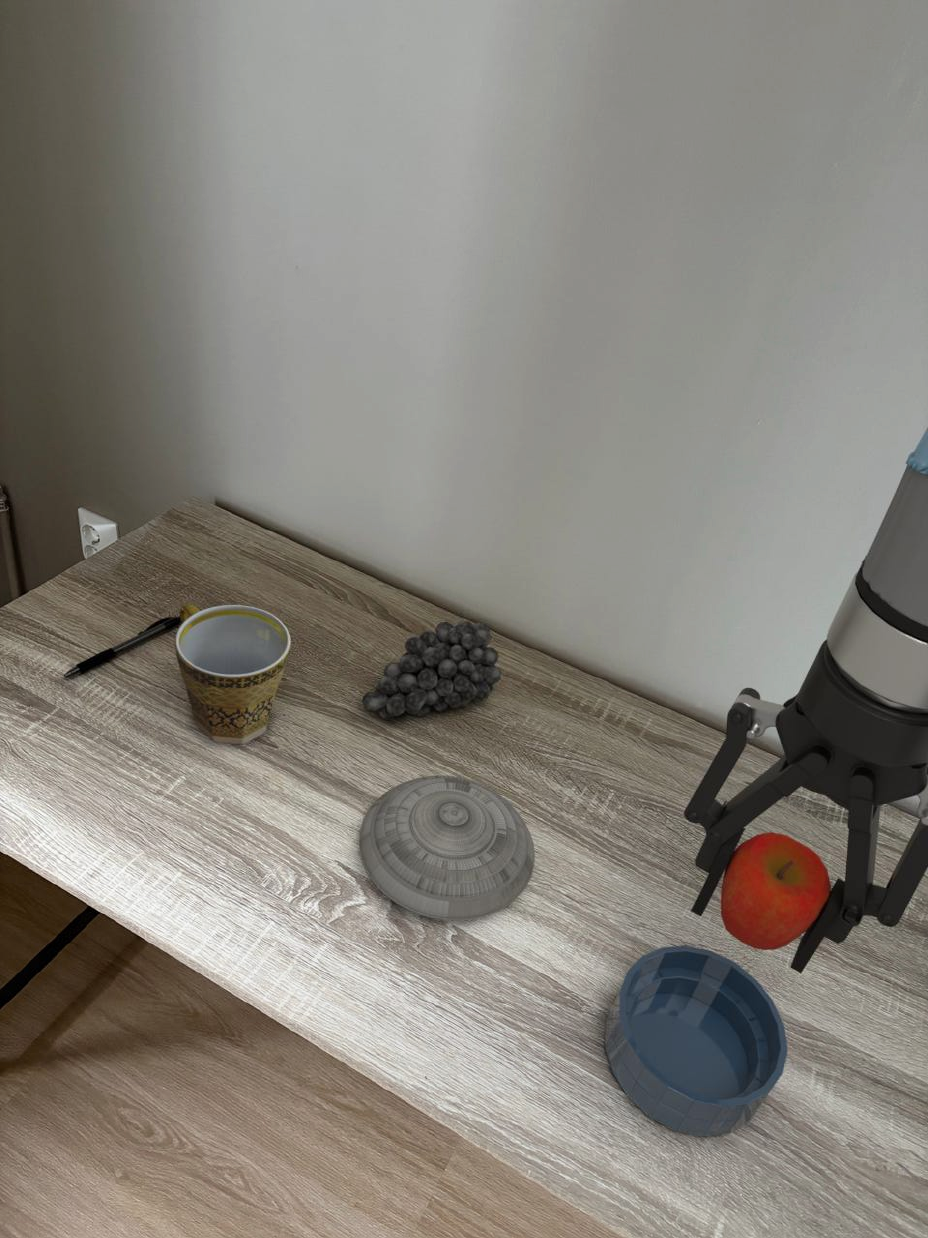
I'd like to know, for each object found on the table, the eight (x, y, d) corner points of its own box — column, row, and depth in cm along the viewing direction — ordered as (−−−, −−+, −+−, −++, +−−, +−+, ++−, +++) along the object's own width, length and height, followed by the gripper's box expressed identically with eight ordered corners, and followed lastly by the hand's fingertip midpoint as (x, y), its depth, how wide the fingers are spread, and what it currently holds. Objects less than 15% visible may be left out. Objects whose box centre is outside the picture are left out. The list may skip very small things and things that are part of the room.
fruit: (378, 667, 88) (514, 623, 95) (337, 638, 94) (467, 599, 101) (387, 751, 91) (517, 702, 98) (346, 717, 98) (471, 674, 105)
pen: (178, 616, 103) (178, 607, 102) (188, 623, 102) (188, 615, 102) (58, 675, 94) (57, 666, 93) (69, 683, 93) (67, 674, 92)
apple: (709, 965, 63) (747, 893, 58) (697, 885, 68) (731, 814, 63) (805, 979, 63) (850, 909, 58) (786, 899, 68) (826, 829, 63)
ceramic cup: (308, 726, 93) (313, 646, 87) (220, 775, 87) (219, 693, 81) (226, 655, 100) (226, 575, 93) (138, 696, 93) (132, 613, 87)
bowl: (797, 1096, 71) (822, 1062, 68) (669, 1170, 66) (690, 1136, 63) (694, 961, 79) (712, 924, 76) (572, 1017, 74) (587, 980, 71)
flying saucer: (414, 764, 92) (422, 722, 88) (559, 838, 87) (572, 797, 84) (322, 873, 81) (326, 829, 77) (481, 964, 76) (493, 922, 73)
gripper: (1093, 713, 51) (905, 965, 65) (744, 563, 57) (643, 822, 71) (1083, 799, 45) (881, 1054, 59) (699, 623, 52) (599, 890, 66)
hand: (751, 927), depth 65 cm, fingers closed on apple, 6 cm apart
